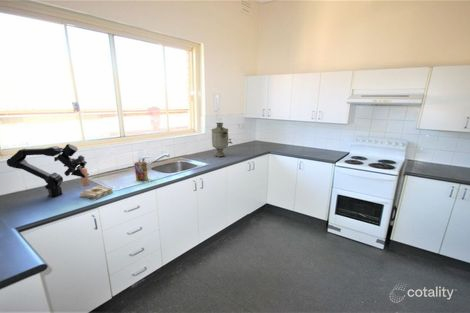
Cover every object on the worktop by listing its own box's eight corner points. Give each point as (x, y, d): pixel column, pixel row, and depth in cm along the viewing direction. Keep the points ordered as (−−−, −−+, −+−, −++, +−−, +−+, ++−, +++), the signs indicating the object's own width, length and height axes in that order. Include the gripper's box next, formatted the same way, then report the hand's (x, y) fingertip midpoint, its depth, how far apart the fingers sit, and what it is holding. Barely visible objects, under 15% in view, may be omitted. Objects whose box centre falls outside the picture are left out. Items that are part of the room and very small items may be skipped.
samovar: (235, 159, 267) (236, 124, 257) (213, 159, 262) (212, 124, 252) (230, 153, 295) (231, 121, 286) (210, 153, 290) (209, 121, 280)
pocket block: (95, 199, 155) (94, 195, 154) (80, 196, 160) (80, 192, 159) (112, 192, 168) (112, 188, 167) (98, 189, 173) (98, 185, 172)
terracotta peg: (85, 186, 159) (82, 169, 156) (81, 185, 161) (78, 169, 158) (90, 184, 163) (88, 168, 160) (86, 183, 164) (84, 167, 161)
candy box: (147, 178, 198) (146, 161, 195) (147, 179, 194) (145, 162, 191) (136, 178, 196) (135, 161, 193) (135, 180, 192) (134, 162, 188)
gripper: (66, 156, 147) (87, 172, 151) (82, 149, 165) (100, 164, 169) (55, 168, 148) (76, 184, 152) (72, 160, 166) (90, 174, 170)
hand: (86, 176), depth 160 cm, fingers closed on terracotta peg, 4 cm apart
